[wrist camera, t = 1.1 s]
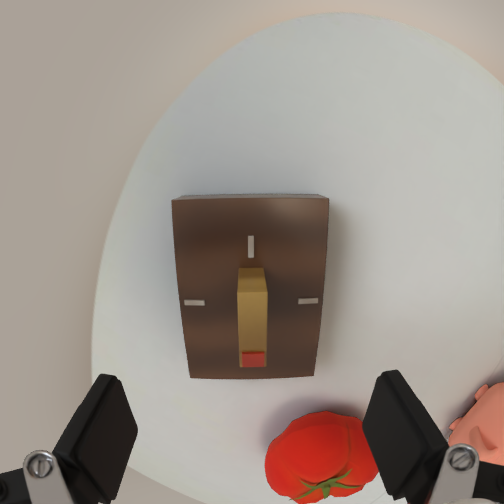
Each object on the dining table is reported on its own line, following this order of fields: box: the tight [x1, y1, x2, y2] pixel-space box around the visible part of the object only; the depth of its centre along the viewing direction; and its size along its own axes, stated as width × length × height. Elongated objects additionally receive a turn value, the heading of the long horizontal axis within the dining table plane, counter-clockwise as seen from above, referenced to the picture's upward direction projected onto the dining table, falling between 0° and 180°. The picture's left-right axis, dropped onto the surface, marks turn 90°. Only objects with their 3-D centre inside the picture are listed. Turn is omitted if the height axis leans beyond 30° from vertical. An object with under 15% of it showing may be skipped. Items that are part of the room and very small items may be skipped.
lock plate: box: [172, 194, 329, 379], centre depth 21 cm, size 14×10×3 cm
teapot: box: [448, 382, 504, 466], centre depth 23 cm, size 16×17×14 cm
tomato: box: [265, 411, 379, 504], centre depth 24 cm, size 14×13×9 cm
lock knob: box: [237, 268, 268, 367], centre depth 18 cm, size 5×2×4 cm, turn 0°
